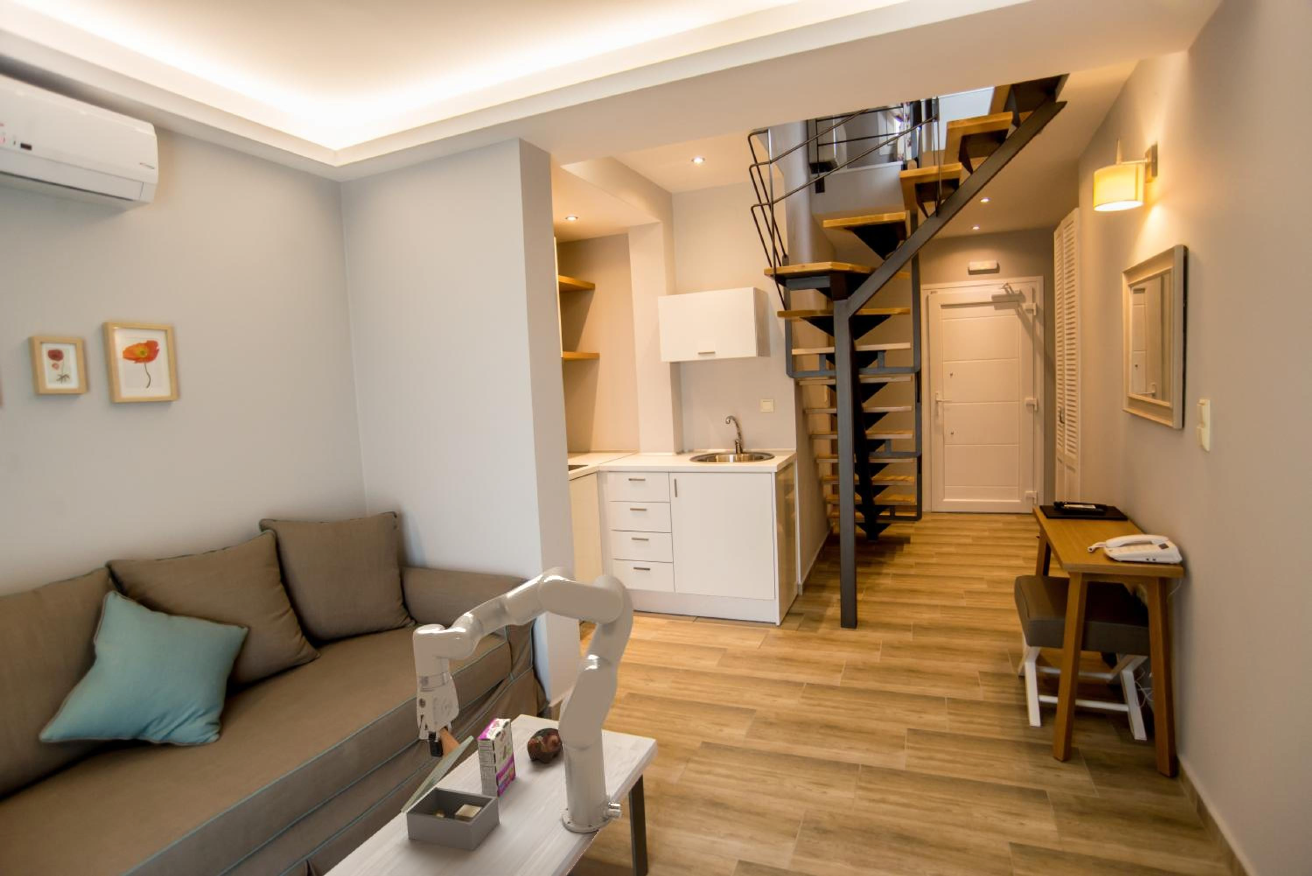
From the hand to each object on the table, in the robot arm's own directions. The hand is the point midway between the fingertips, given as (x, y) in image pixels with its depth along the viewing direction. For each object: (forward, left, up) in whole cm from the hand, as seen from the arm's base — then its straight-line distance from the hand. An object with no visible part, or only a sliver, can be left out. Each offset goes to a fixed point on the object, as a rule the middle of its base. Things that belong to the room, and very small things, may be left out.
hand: (441, 752), depth 165 cm
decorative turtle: (-7, -36, -20) cm, 42 cm away
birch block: (-5, -2, -19) cm, 20 cm away
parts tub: (-2, 0, -20) cm, 20 cm away
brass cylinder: (+2, +2, -19) cm, 19 cm away
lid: (+1, 0, -6) cm, 6 cm away
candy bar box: (-2, -19, -20) cm, 28 cm away
